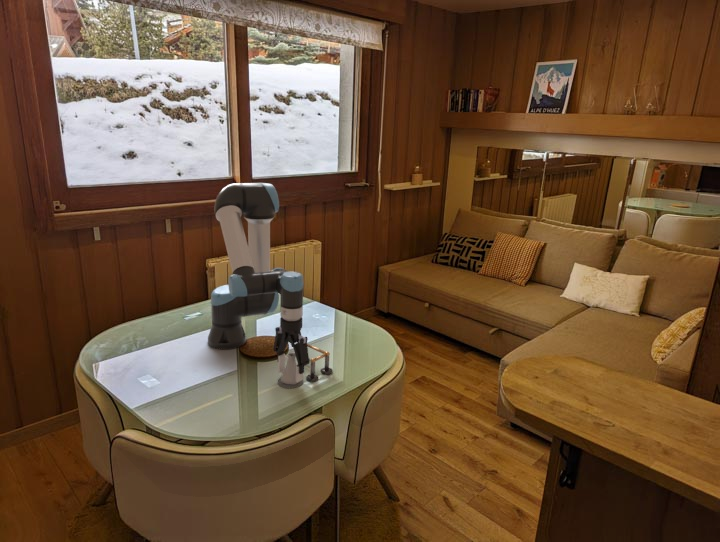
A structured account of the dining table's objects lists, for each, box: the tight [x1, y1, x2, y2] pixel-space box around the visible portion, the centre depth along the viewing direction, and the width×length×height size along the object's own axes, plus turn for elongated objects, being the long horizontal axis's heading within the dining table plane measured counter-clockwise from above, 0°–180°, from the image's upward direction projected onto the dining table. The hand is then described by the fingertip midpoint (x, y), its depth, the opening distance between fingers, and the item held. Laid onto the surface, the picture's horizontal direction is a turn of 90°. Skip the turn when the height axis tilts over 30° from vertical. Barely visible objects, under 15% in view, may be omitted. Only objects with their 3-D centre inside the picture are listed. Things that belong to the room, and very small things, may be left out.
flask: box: [280, 352, 300, 384], centre depth 175 cm, size 7×7×10 cm
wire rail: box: [305, 343, 333, 383], centre depth 184 cm, size 16×12×8 cm
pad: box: [277, 376, 304, 389], centre depth 176 cm, size 9×9×1 cm
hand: (290, 375), depth 175 cm, fingers open, 8 cm apart
